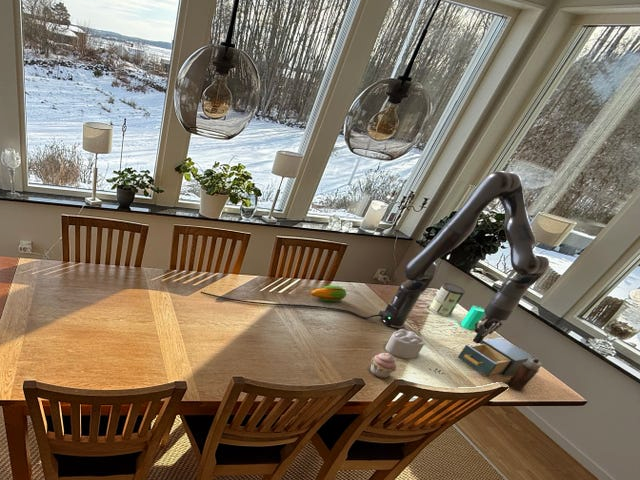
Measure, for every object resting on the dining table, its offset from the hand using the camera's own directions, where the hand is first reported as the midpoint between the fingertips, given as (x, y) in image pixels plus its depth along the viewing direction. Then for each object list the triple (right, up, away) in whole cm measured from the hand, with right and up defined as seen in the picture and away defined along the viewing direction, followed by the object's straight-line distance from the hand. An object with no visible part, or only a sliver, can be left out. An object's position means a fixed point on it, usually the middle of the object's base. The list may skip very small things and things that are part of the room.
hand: (476, 342), depth 158 cm
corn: (-40, +20, +48) cm, 65 cm away
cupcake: (-39, -12, 0) cm, 41 cm away
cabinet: (+22, -10, +17) cm, 30 cm away
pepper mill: (+19, -18, +5) cm, 27 cm away
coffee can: (+23, +15, +54) cm, 60 cm away
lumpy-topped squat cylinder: (-21, -4, +16) cm, 27 cm away
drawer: (+10, -10, +12) cm, 19 cm away
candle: (+30, +6, +43) cm, 53 cm away
